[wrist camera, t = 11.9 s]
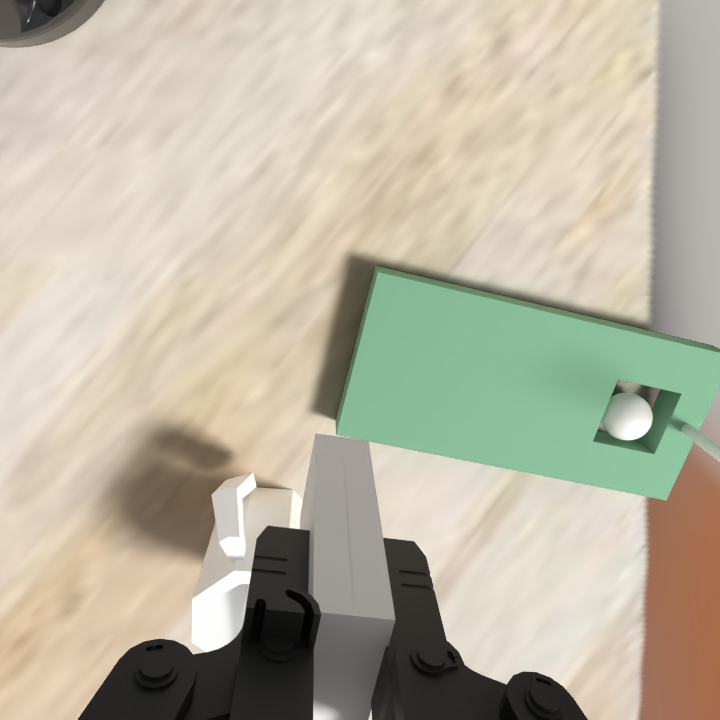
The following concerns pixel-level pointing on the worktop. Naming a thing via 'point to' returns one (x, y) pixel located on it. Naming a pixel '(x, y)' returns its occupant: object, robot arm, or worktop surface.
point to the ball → (627, 416)
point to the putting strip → (521, 385)
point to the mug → (235, 555)
